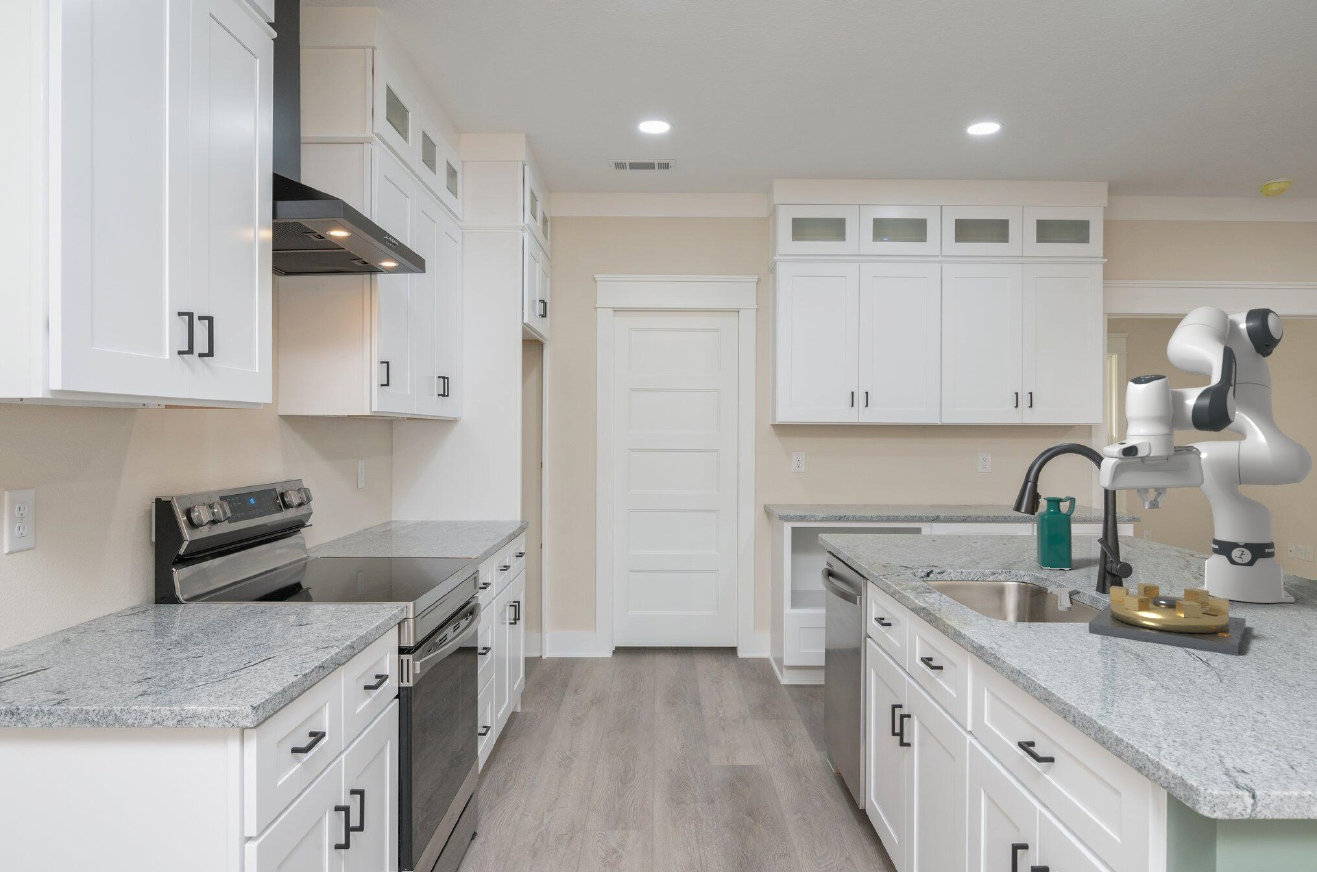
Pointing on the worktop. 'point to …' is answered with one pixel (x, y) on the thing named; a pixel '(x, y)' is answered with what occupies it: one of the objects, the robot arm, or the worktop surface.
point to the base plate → (1172, 634)
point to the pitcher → (1055, 534)
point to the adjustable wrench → (1063, 596)
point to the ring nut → (1170, 609)
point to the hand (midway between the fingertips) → (1152, 508)
